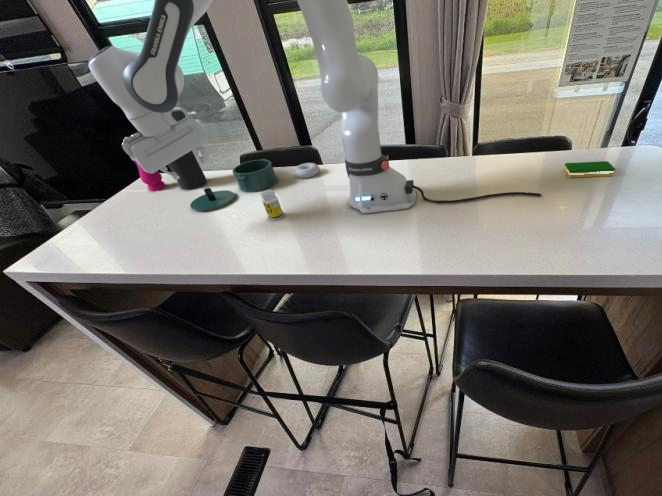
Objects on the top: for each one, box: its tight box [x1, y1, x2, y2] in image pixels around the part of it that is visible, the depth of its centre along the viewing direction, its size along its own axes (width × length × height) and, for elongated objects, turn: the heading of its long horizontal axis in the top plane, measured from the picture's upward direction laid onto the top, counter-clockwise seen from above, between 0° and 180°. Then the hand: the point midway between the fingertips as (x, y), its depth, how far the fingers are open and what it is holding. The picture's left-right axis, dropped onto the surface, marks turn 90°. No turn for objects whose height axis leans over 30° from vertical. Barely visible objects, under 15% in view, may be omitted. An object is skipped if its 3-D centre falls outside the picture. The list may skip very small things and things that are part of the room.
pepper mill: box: [124, 136, 167, 192], centre depth 127 cm, size 7×7×20 cm
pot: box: [231, 158, 278, 193], centre depth 125 cm, size 14×20×7 cm
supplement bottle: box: [260, 189, 284, 221], centre depth 102 cm, size 5×5×8 cm
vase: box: [167, 150, 208, 191], centre depth 123 cm, size 10×10×30 cm
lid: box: [189, 187, 236, 212], centre depth 117 cm, size 15×15×5 cm
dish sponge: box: [563, 160, 616, 178], centre depth 108 cm, size 7×14×2 cm, turn 84°
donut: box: [293, 162, 320, 179], centre depth 129 cm, size 10×4×10 cm
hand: (191, 170), depth 96 cm, fingers open, 8 cm apart
